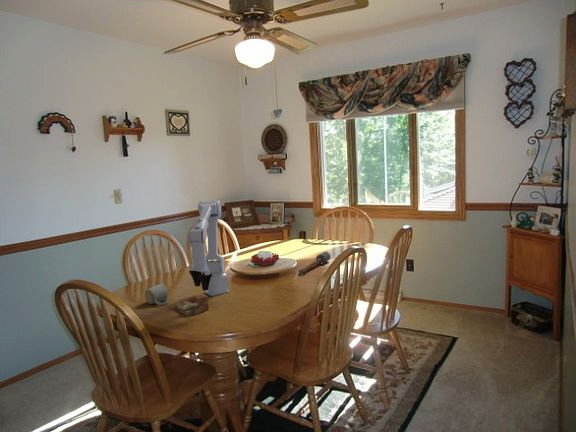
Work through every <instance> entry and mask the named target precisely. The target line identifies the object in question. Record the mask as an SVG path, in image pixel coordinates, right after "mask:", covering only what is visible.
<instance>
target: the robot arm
mask: <svg viewBox="0 0 576 432" xmlns="http://www.w3.org/2000/svg"><path fill="white" fill-rule="evenodd" d="M197 210H198V213H199V217H198V218H197V219H195V222H194V224H193V227H192V229H190V230H189V231H188V235H187V236H188V242H189V246H190V248H191V260H192V263H191V264H190V270H189V271H188V272H189V274H190V276H191V277H192V280H193V283H194V287H200V286H201V289H202V291H204V293H205V294H208V295H209V296H210V297H212V296H213V297H214V296H217V295H221V294H224V293H229V292H230V290H229V280H228V275H227V273H226V272H225V270H226V263H225V258H224V257H223V256H222V255H221V254H220V253H219V243H218V242H219V239H218V238H219V237H218V235H219V234H218V233H219V232H218V222H219V219H221V218H222V204H221V201H220V200H205V201H204V200H203V201H199V202H198V204H197ZM206 241H207V251H206Z"/></svg>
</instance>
